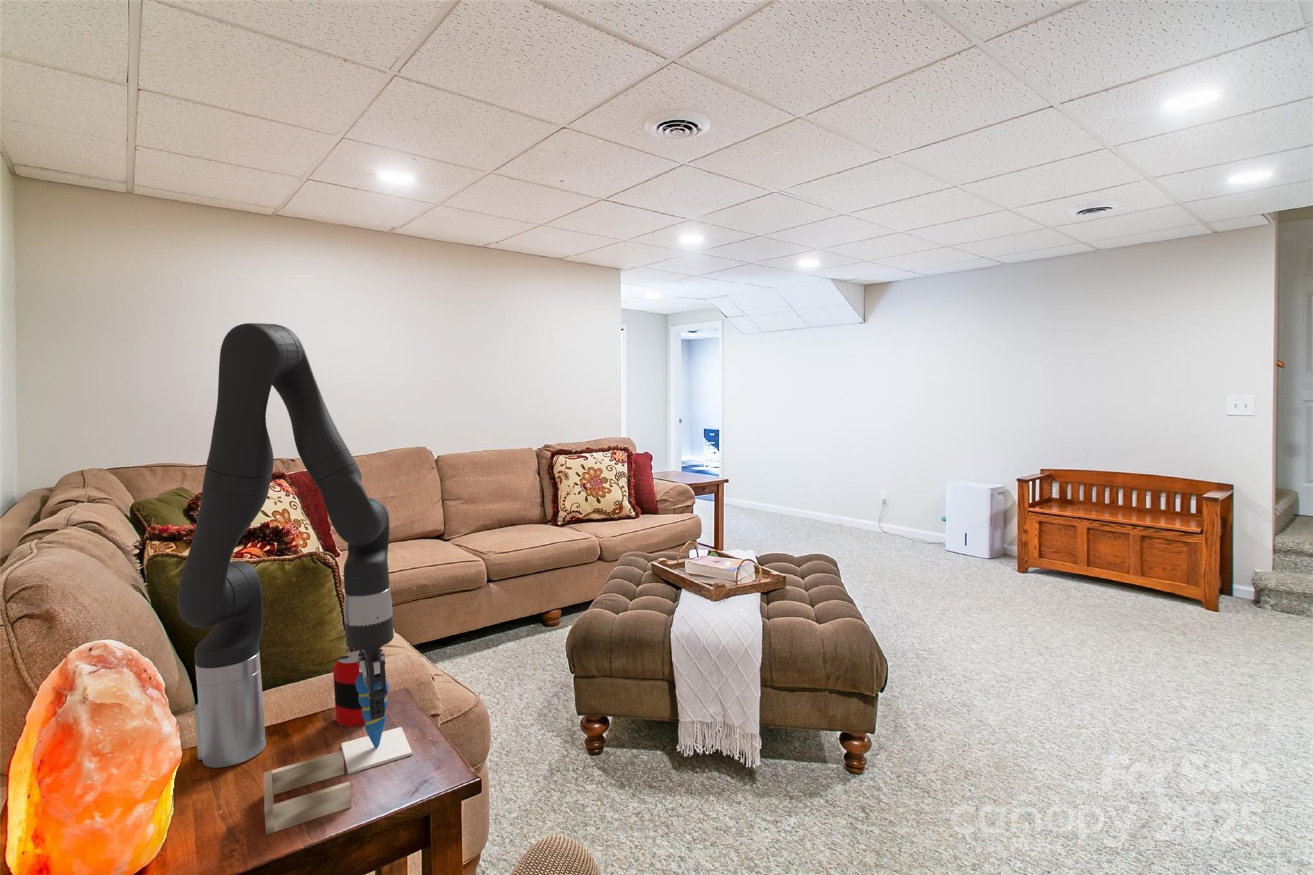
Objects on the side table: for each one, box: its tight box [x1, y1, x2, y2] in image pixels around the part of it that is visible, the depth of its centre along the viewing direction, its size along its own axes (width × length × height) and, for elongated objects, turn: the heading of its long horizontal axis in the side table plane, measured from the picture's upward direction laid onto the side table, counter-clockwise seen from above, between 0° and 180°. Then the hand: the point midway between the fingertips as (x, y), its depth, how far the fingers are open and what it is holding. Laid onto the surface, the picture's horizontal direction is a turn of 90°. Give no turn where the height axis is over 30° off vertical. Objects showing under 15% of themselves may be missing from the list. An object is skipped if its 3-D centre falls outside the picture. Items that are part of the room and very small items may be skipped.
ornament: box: [356, 673, 390, 748], centre depth 111 cm, size 5×5×15 cm
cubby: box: [263, 750, 352, 835], centre depth 98 cm, size 11×11×4 cm
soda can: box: [332, 650, 366, 728], centre depth 123 cm, size 8×8×12 cm
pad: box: [341, 726, 413, 775], centre depth 111 cm, size 10×10×1 cm
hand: (374, 707), depth 111 cm, fingers open, 8 cm apart
